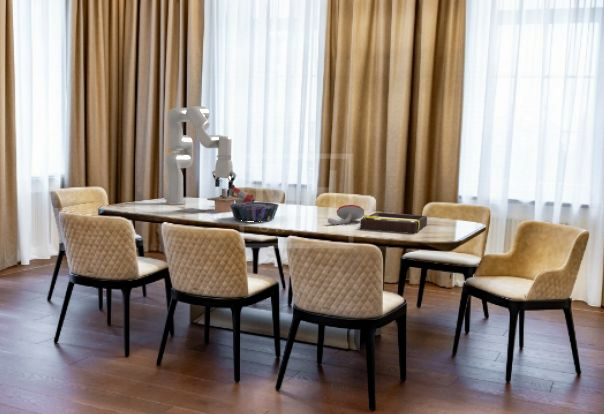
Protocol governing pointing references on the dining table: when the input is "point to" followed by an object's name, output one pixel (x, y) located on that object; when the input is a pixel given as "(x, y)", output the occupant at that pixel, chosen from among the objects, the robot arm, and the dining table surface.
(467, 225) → the dining table surface
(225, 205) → the terracotta pot
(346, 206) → the mushroom
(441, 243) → the dining table surface
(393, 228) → the dark brown open box
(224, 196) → the walnut lid
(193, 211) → the charcoal tray
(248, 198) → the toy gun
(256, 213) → the decorative bowl
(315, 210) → the dining table surface
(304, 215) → the dining table surface
